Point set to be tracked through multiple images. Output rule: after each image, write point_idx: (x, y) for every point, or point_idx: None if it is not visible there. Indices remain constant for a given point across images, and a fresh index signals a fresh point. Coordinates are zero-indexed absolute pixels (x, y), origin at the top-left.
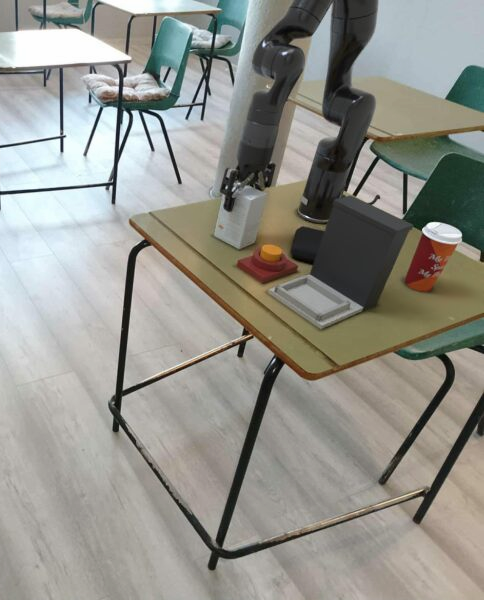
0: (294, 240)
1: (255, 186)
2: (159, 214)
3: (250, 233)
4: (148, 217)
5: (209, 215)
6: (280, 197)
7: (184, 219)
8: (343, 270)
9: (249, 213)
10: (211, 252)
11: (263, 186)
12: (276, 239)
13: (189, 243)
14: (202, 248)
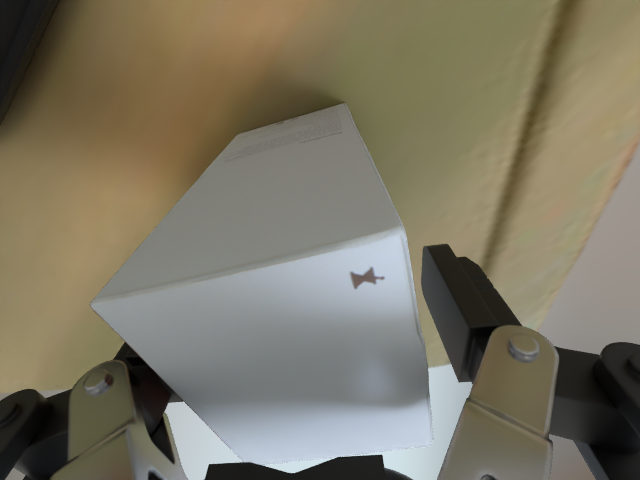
0: (22, 24)
1: (161, 419)
2: (433, 359)
3: (284, 132)
4: None
5: None
6: (4, 357)
7: None
8: None
9: (353, 163)
10: (472, 123)
11: (88, 410)
12: (117, 131)
13: (492, 209)
14: (479, 164)
